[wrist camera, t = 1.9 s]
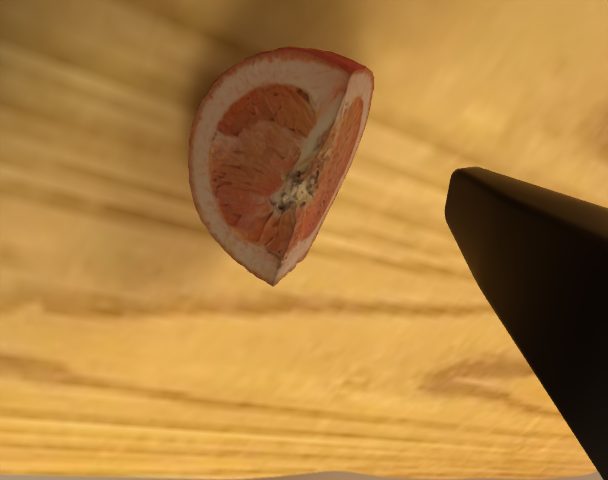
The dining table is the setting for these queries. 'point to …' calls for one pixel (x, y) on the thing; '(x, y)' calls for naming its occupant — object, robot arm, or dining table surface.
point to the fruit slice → (276, 152)
